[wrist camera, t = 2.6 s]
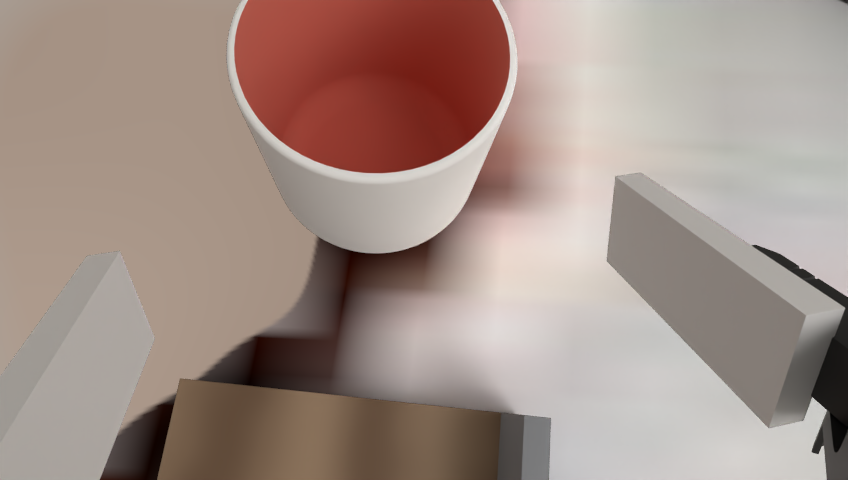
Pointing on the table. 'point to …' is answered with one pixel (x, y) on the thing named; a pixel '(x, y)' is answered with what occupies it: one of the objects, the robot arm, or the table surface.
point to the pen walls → (524, 447)
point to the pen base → (322, 437)
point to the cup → (373, 109)
